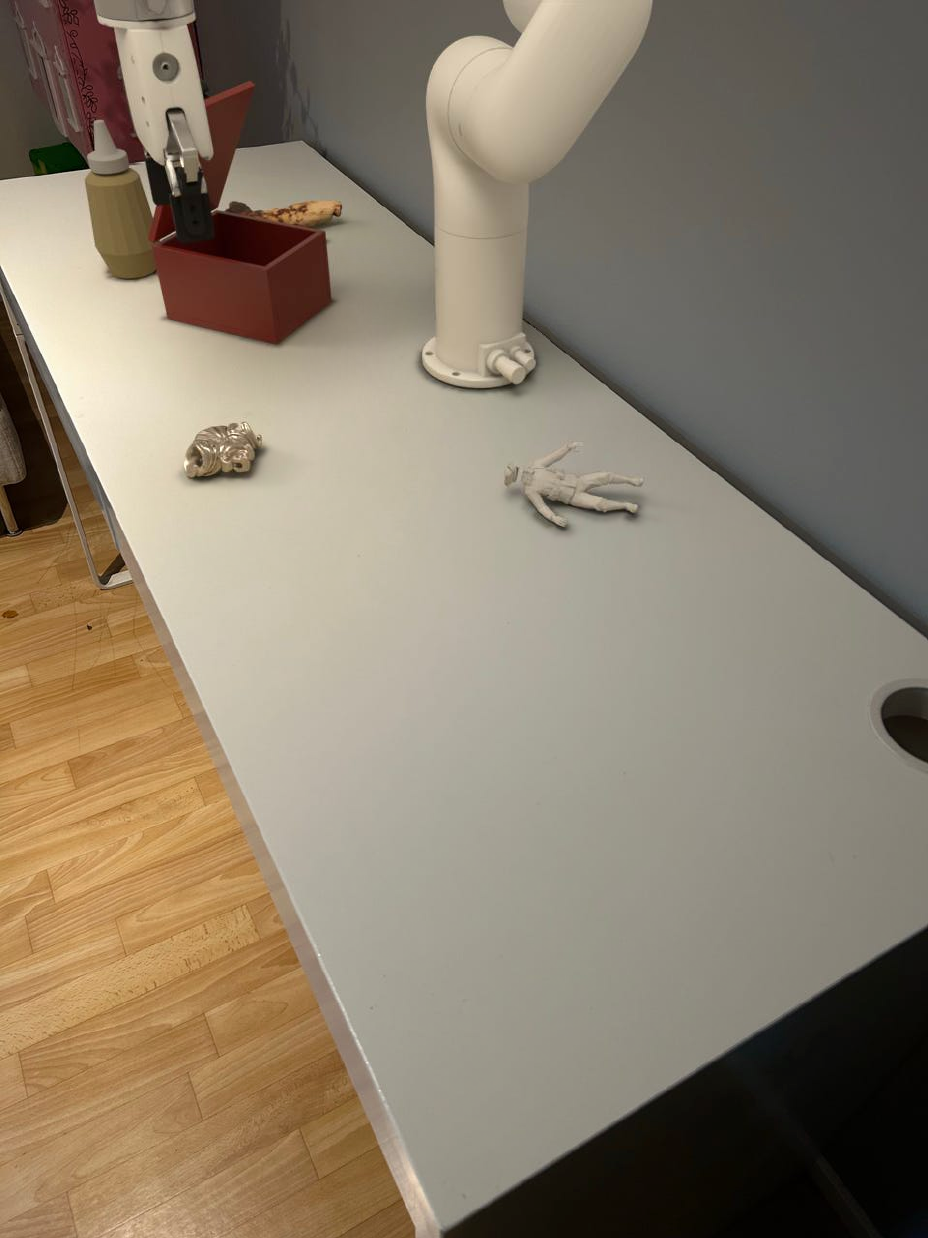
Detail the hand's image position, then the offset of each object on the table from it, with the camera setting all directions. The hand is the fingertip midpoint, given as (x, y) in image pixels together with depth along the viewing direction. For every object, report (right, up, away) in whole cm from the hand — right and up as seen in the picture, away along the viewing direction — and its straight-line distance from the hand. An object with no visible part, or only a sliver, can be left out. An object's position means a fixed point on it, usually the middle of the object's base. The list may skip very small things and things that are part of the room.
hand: (183, 220), depth 85 cm
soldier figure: (+36, -26, +2) cm, 44 cm away
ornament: (+3, -22, +6) cm, 22 cm away
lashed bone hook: (0, +18, +47) cm, 51 cm away
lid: (-4, +15, +20) cm, 25 cm away
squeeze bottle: (-18, +10, +38) cm, 43 cm away
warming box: (-1, +2, +30) cm, 30 cm away
